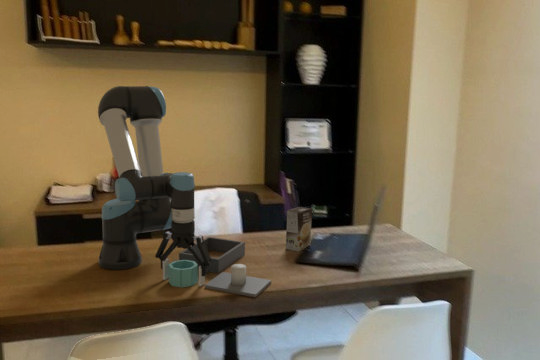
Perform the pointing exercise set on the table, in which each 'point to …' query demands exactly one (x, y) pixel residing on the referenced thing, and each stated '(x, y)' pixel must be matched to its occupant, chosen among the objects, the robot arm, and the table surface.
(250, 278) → the stand
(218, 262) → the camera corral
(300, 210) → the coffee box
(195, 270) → the collar
